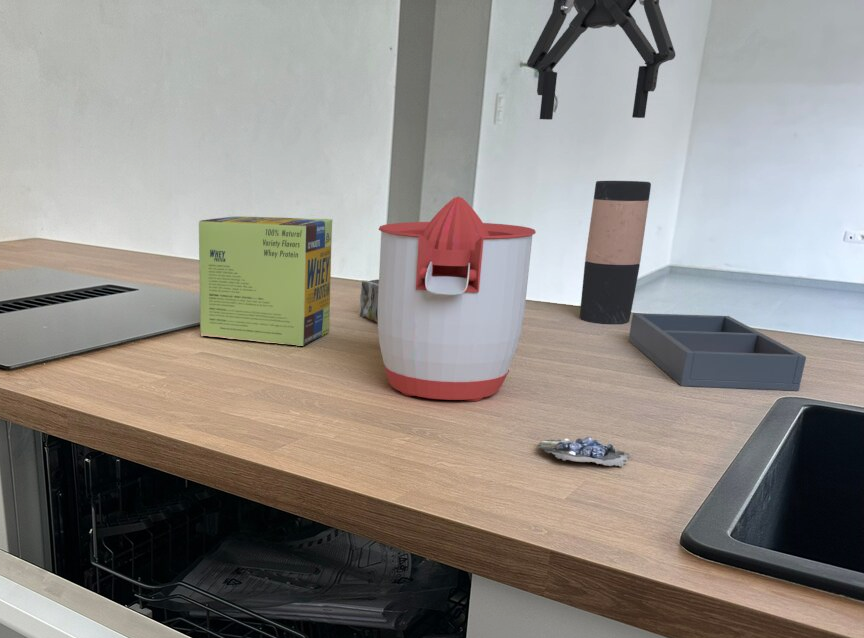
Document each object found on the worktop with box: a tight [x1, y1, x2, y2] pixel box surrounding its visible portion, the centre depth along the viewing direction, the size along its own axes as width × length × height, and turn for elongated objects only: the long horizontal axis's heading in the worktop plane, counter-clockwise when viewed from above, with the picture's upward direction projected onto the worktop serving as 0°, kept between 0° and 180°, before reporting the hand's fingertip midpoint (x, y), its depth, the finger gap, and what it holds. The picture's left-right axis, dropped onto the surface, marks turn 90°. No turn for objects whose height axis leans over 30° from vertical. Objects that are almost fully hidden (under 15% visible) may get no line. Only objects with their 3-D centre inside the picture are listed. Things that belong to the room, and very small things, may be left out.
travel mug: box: [579, 180, 652, 325], centre depth 127 cm, size 8×8×20 cm
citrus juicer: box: [377, 196, 537, 402], centre depth 89 cm, size 16×17×20 cm
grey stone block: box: [359, 278, 379, 324], centre depth 124 cm, size 20×10×6 cm, turn 17°
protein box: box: [198, 215, 333, 347], centre depth 116 cm, size 10×15×16 cm
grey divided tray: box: [628, 312, 807, 392], centre depth 104 cm, size 12×23×4 cm, turn 171°
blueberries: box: [536, 436, 631, 468], centre depth 73 cm, size 7×8×2 cm
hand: (590, 118), depth 124 cm, fingers open, 13 cm apart
